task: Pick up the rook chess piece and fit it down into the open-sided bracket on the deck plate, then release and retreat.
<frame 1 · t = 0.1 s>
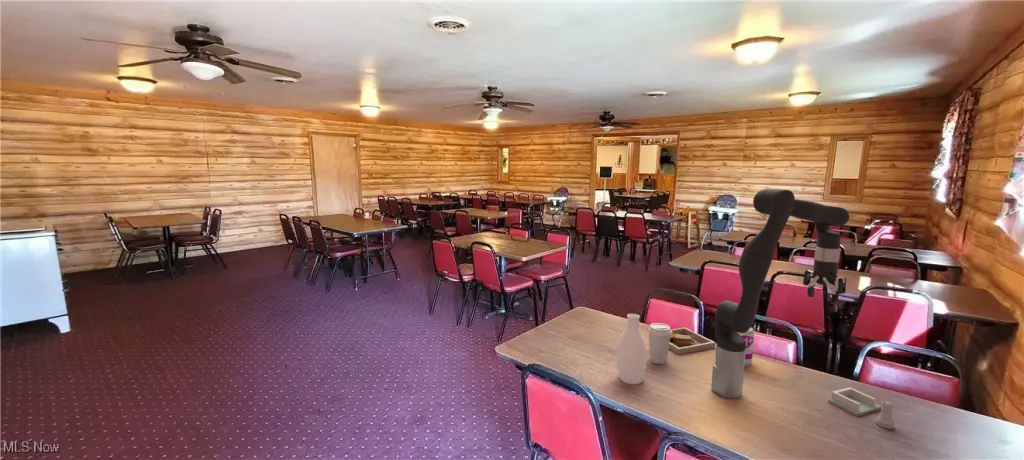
hand: (822, 300, 161), 29 cm above the table, fingers open, 8 cm apart
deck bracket: (854, 405, 141), on the table
rook chess piece: (884, 425, 130), on the table
supplement can: (740, 362, 173), on the table
coffee cup: (658, 360, 175), on the table
bottle: (630, 379, 160), on the table
toy sandwich meal: (682, 343, 193), resting in tray rim
tray rim: (681, 342, 193), on the table
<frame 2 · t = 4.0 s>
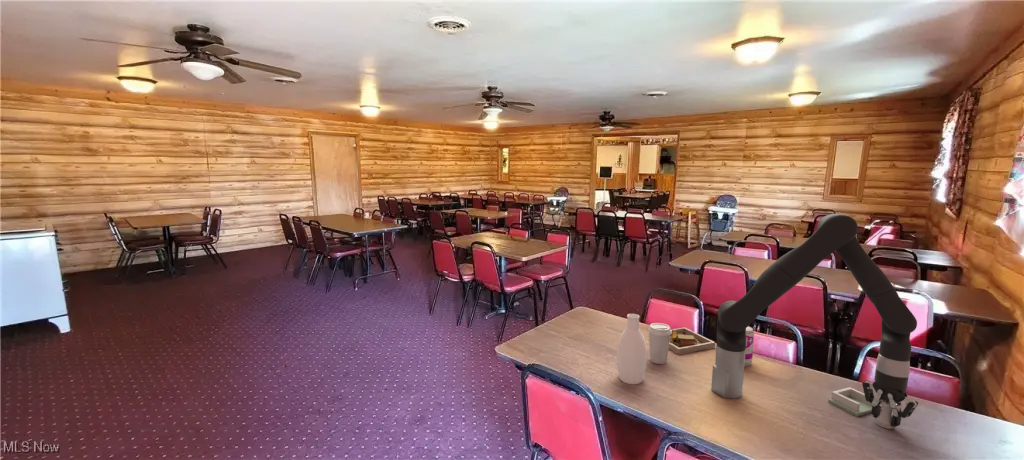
hand: (885, 421, 130), 1 cm above the table, fingers closed on rook chess piece, 4 cm apart
rook chess piece: (884, 425, 130), on the table, touching gripper
toy sandwich meal: (684, 343, 192), resting in tray rim
everything else where it was.
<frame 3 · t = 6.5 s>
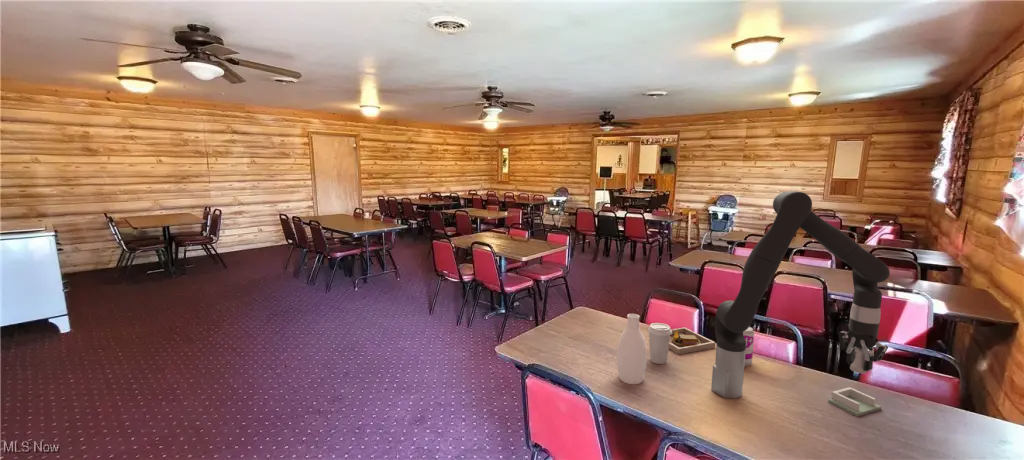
hand: (858, 367, 139), 14 cm above the table, fingers closed on rook chess piece, 4 cm apart
rook chess piece: (858, 371, 139), point 12 cm above the table, touching gripper
when the fingers open (4 cm above the table, at t = 8.9 s): rook chess piece drops 2 cm, resting on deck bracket.
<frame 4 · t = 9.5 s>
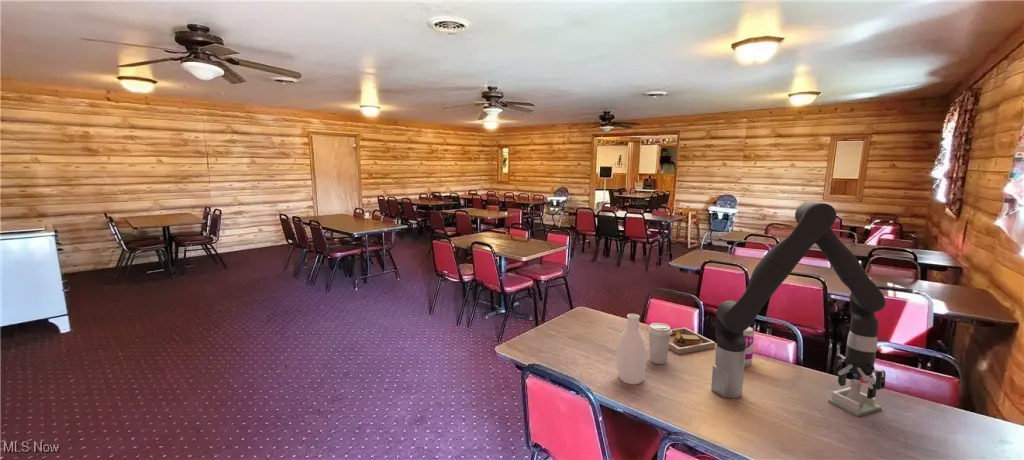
hand: (855, 391, 140), 5 cm above the table, fingers open, 8 cm apart
rook chess piece: (853, 403, 141), point 1 cm above the table, touching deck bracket
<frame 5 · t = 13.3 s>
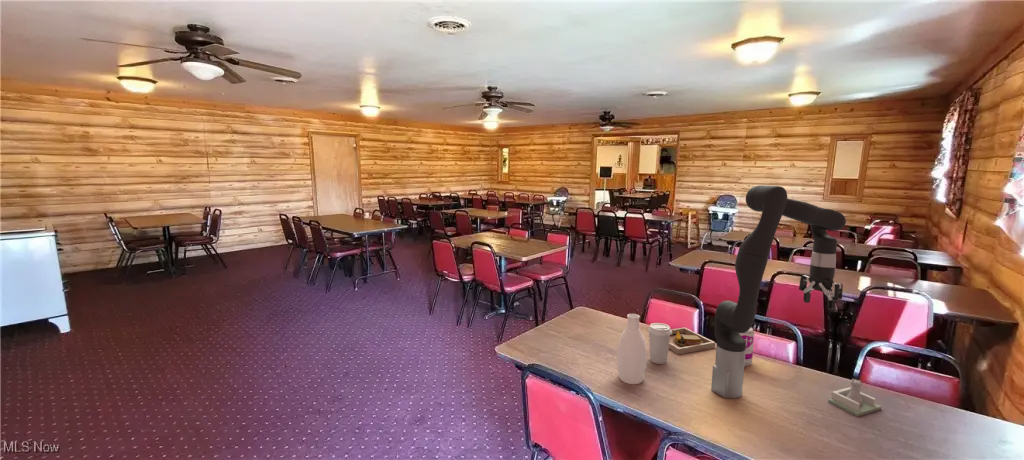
hand: (818, 306, 157), 28 cm above the table, fingers open, 8 cm apart
at the end: rook chess piece 0.2 cm off-centre on the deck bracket, point 0.8 cm above the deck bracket's base; rook chess piece tilted 0°; the gripper is holding nothing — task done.
